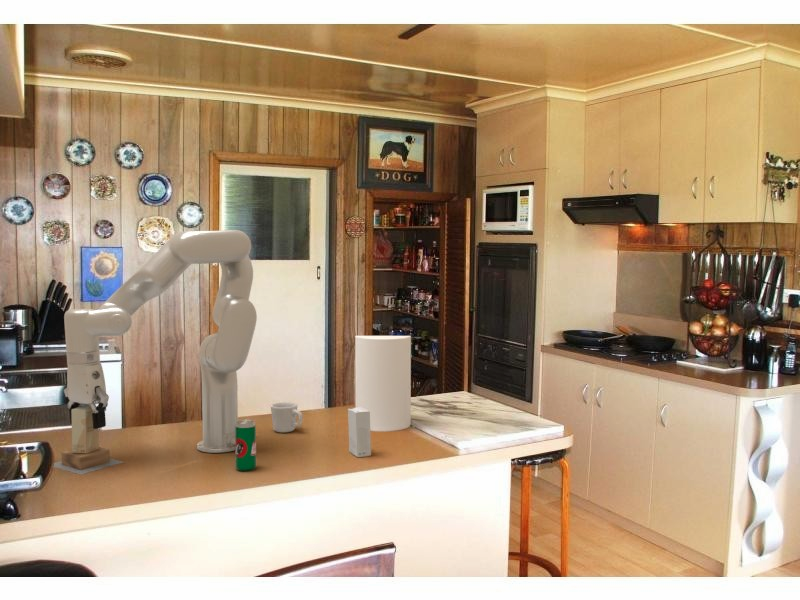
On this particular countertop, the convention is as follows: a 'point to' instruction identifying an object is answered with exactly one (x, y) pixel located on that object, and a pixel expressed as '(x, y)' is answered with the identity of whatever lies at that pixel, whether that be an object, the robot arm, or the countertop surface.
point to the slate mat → (111, 463)
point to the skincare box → (359, 432)
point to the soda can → (245, 445)
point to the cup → (285, 416)
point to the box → (84, 431)
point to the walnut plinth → (85, 458)
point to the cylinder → (384, 380)
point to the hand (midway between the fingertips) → (87, 425)
